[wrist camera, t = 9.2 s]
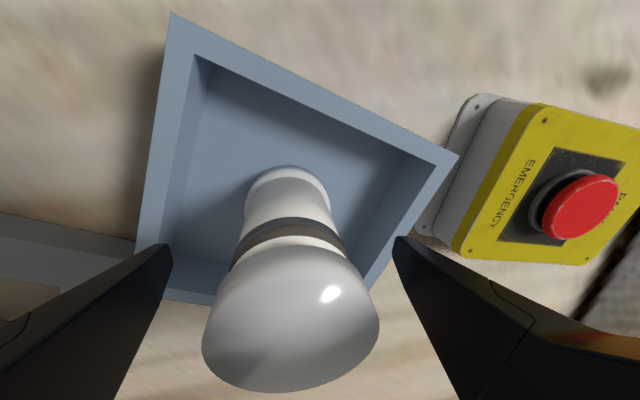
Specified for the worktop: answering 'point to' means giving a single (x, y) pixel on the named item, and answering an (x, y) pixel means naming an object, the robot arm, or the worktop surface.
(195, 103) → the parts tray
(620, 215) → the emergency button
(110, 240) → the grey square frame
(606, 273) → the worktop surface
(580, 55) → the worktop surface
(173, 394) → the worktop surface
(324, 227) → the frosted globe bulb
